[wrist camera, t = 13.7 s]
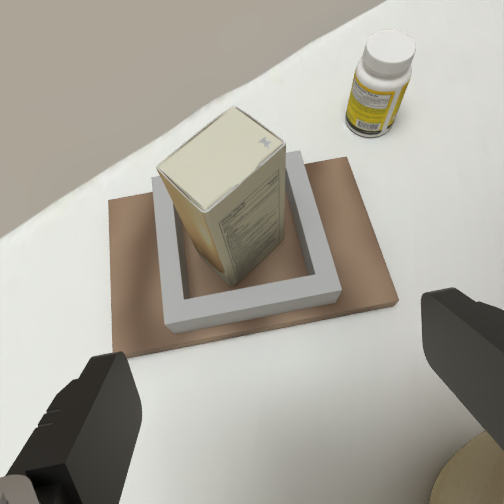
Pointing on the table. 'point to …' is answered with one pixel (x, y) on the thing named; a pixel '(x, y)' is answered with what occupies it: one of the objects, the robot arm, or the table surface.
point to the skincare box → (230, 192)
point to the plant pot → (472, 475)
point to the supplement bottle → (380, 82)
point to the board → (267, 271)
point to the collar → (251, 298)
